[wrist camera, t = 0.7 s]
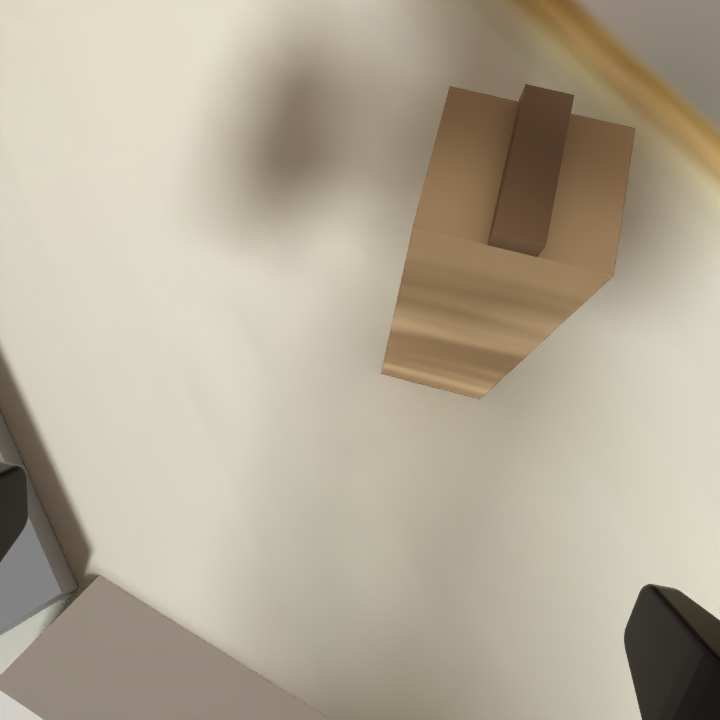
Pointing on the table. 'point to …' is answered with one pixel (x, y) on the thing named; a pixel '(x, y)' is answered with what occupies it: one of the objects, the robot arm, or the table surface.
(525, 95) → the wooden board
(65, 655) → the crown molding
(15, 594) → the groove board
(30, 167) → the table surface
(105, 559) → the table surface
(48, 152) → the table surface
